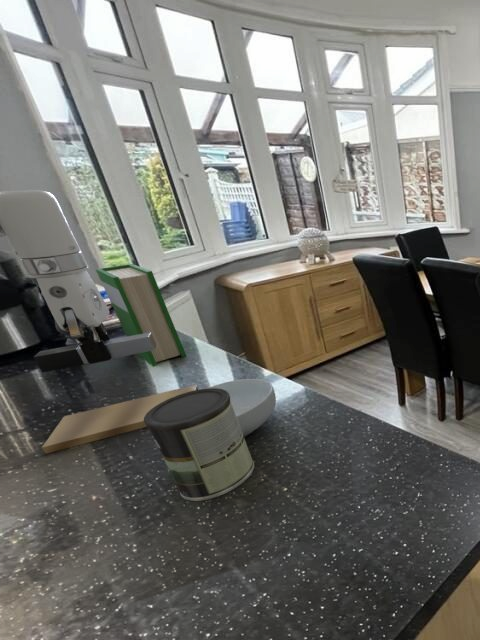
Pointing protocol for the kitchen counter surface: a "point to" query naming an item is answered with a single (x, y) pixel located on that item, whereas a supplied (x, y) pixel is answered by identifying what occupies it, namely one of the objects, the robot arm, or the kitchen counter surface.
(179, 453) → the coffee can
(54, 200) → the robot arm
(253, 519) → the kitchen counter surface
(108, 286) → the hardback book
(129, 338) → the grey bar black end
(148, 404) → the cutting board
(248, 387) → the cereal bowl
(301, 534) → the kitchen counter surface
